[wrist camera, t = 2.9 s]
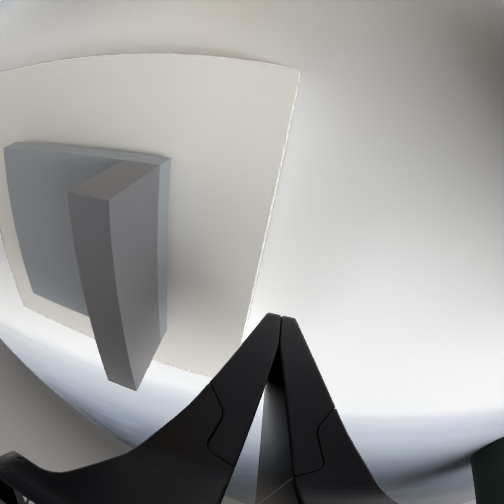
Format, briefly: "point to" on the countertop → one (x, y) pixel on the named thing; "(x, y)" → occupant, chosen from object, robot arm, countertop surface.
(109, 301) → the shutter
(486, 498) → the wine bottle
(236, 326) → the socket block
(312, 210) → the countertop surface
